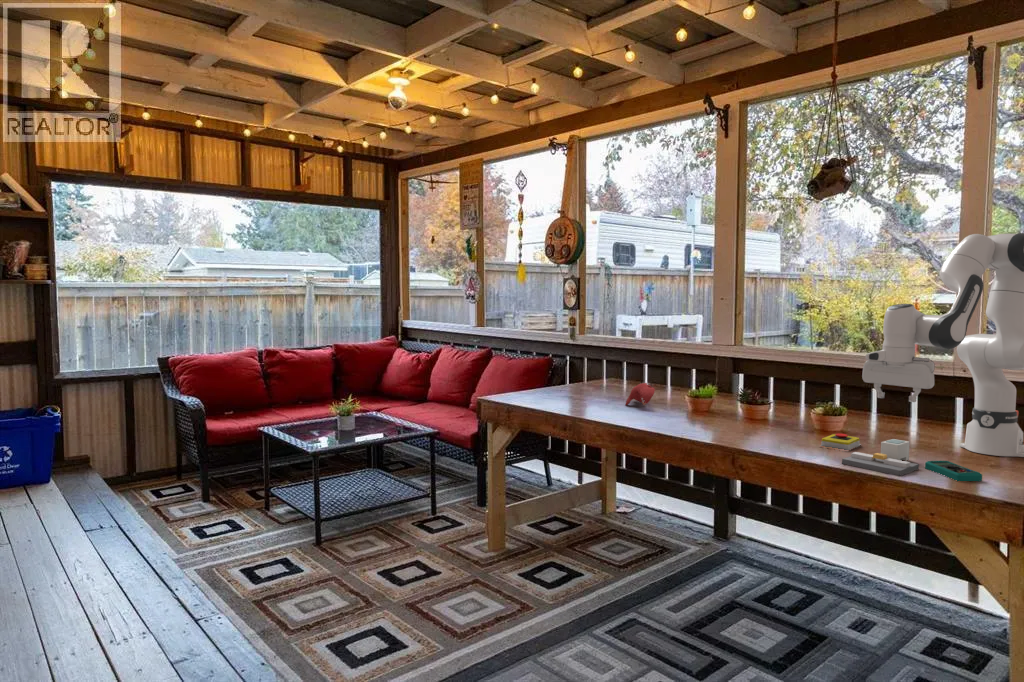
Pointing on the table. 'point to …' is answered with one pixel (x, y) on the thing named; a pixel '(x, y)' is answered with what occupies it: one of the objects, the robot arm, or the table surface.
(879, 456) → the latch pin
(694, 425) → the table surface
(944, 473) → the digital multimeter
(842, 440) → the emergency button
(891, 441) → the block
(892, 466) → the rail board
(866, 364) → the robot arm
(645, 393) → the decorative bird sculpture
